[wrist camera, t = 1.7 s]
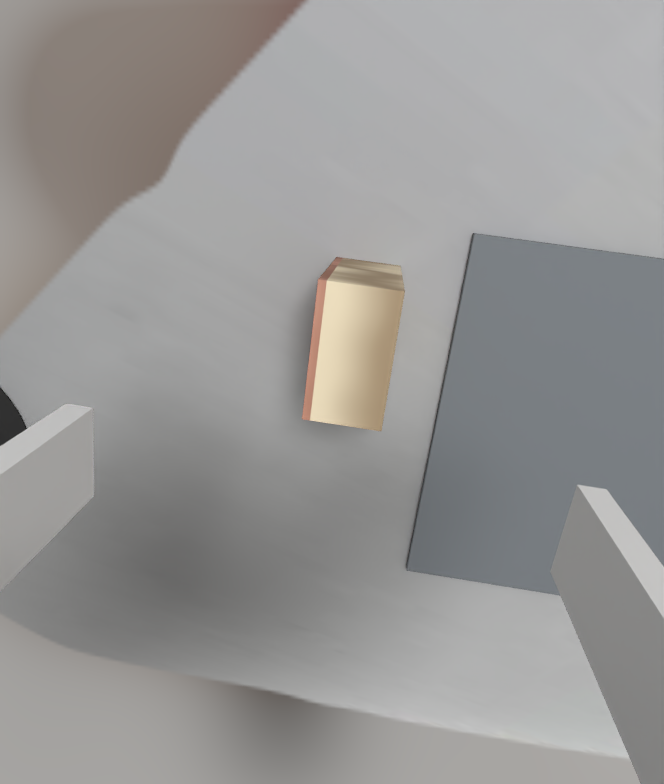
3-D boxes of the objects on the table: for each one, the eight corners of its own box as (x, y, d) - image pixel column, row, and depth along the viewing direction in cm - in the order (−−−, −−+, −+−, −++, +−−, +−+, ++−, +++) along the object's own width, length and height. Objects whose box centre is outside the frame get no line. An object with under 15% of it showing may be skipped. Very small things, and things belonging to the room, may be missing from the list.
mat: (406, 565, 43) (406, 570, 42) (473, 233, 35) (474, 233, 34) (652, 605, 42) (656, 611, 41) (779, 274, 34) (786, 275, 33)
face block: (323, 363, 38) (302, 419, 29) (336, 256, 36) (318, 279, 26) (383, 372, 38) (381, 431, 29) (400, 265, 36) (404, 291, 26)
